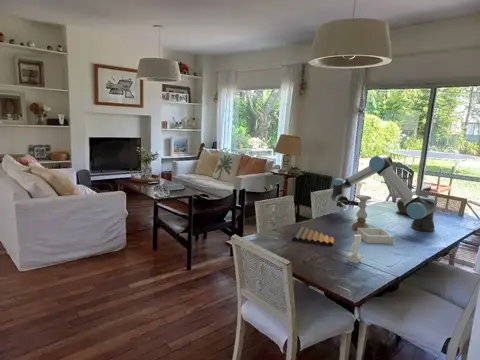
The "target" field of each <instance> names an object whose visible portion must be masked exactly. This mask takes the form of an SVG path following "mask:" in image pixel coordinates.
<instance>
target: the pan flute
mask: <svg viewBox="0 0 480 360" xmlns="http://www.w3.org/2000/svg"><path fill="white" fill-rule="evenodd" d="M293 240H294V241H293ZM292 241H293V242H298V243H299V242H300V243H305V242H306V244H311V245H314V244H316V245H319V246H320V245H322V246H328V247H333V246H334V242H335V238H334V237H333V236H329V235H327V234H325V235H324V233H322V232H318V231H317V230H315V231H314V230H313V229H309V228H308V227H304V225H301V226H299V227H298V228H297V230H296V232H295V233H294V235H293V236H292Z"/></svg>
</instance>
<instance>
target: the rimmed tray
mask: <svg viewBox="0 0 480 360" xmlns="http://www.w3.org/2000/svg"><path fill="white" fill-rule="evenodd" d="M358 234H360V235H362V238H361V240H363V241H364V242H365V243H367V244H368V243H369V244H394V237H395V236H394V235H392V234H391V233H390V232H388V231H387V230H385V229H384V228H382V227H369V228H357V231H356V235H358Z"/></svg>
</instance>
